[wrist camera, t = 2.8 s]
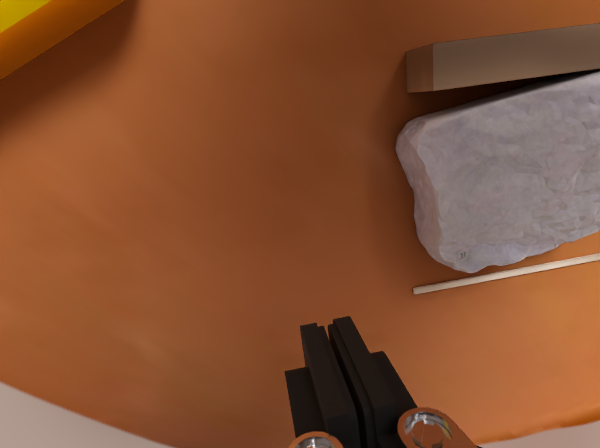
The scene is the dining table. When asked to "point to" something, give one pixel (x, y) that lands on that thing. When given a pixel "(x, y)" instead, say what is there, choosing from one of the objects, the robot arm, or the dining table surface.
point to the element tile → (41, 26)
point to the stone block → (506, 172)
